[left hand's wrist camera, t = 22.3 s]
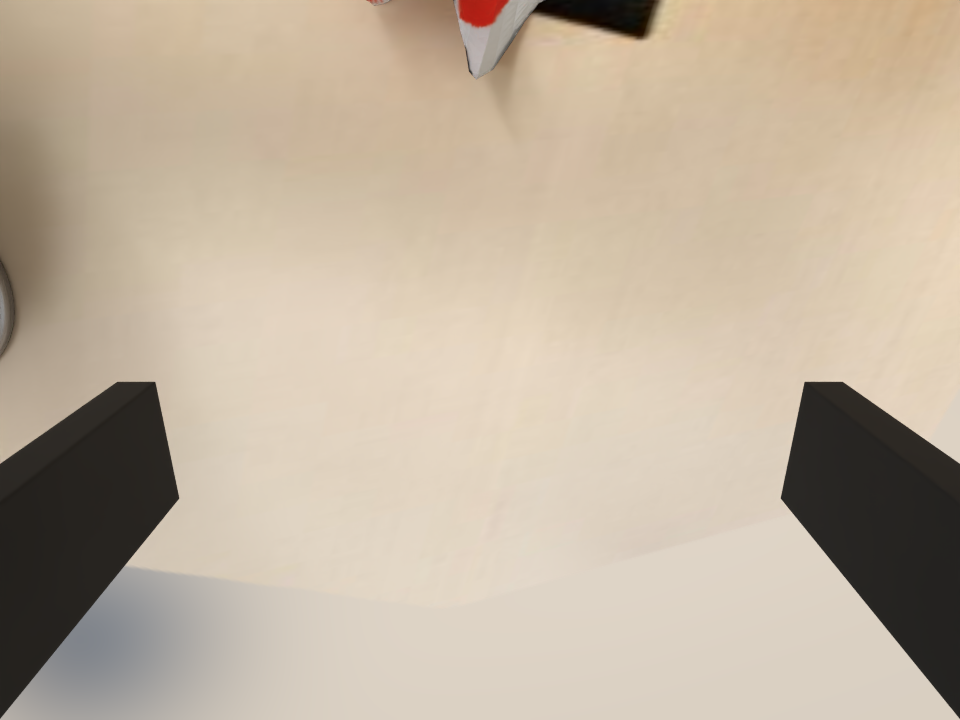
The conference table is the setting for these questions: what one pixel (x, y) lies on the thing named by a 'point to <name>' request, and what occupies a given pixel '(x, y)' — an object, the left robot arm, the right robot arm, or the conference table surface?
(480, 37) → the fish
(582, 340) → the conference table surface
